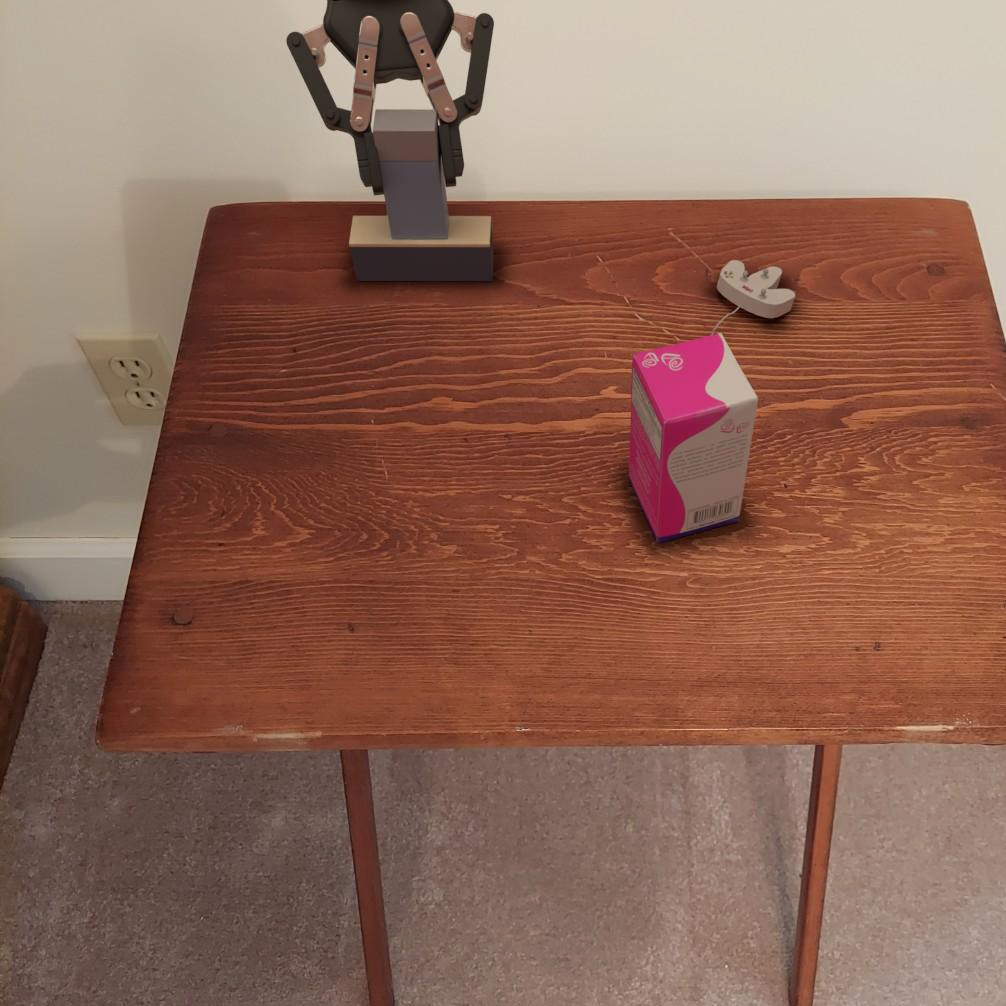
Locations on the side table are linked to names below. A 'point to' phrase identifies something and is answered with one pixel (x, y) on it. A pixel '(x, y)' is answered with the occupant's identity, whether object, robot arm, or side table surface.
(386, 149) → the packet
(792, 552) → the side table surface
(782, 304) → the game controller
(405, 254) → the stand
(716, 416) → the supplement box
